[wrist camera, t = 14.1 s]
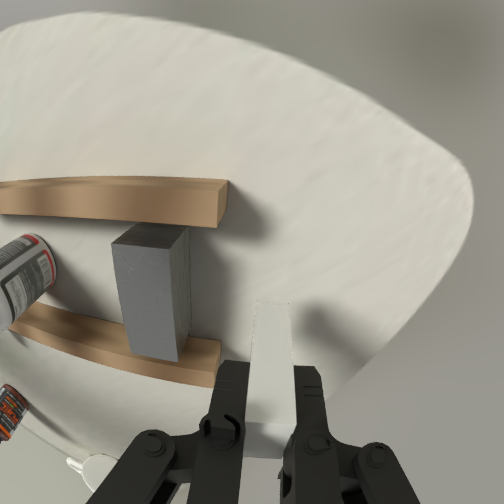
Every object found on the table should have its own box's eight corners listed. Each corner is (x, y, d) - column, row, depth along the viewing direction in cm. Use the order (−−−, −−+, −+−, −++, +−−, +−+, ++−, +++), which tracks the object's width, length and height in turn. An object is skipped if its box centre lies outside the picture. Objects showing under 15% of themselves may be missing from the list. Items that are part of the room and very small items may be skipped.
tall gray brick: (149, 319, 18) (131, 352, 15) (140, 220, 15) (111, 243, 12) (191, 325, 18) (178, 362, 15) (189, 224, 15) (169, 249, 12)
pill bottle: (14, 256, 17) (-51, 306, 9) (29, 219, 15) (-52, 268, 8) (47, 297, 18) (-13, 358, 10) (66, 265, 17) (-9, 332, 9)
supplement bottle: (33, 405, 28) (5, 453, 18) (25, 408, 30) (0, 451, 20) (7, 379, 27) (-25, 425, 16) (2, 385, 28) (-26, 426, 18)
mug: (133, 465, 32) (121, 502, 24) (135, 478, 36) (125, 510, 28) (70, 436, 31) (53, 469, 24) (80, 454, 35) (67, 483, 27)
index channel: (15, 307, 19) (-2, 323, 16) (-12, 183, 14) (-37, 193, 12) (220, 357, 19) (214, 388, 16) (228, 179, 14) (218, 191, 11)
